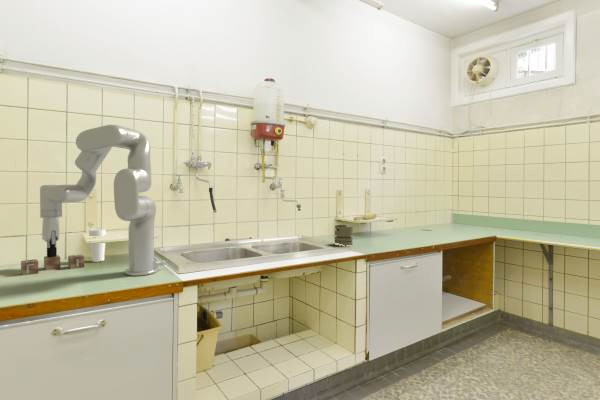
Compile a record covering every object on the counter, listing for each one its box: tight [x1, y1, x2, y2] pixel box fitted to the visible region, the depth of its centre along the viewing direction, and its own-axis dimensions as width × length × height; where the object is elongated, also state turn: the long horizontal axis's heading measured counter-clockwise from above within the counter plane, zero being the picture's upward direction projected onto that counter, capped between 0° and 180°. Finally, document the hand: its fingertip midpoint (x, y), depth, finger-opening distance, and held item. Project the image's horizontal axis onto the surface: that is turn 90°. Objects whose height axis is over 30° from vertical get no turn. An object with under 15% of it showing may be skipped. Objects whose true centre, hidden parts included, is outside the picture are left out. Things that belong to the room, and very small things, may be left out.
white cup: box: [88, 228, 107, 263], centre depth 162 cm, size 7×7×15 cm
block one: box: [67, 254, 85, 270], centre depth 150 cm, size 5×5×5 cm
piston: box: [333, 224, 354, 246], centre depth 216 cm, size 11×12×11 cm
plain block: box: [43, 254, 61, 271], centre depth 147 cm, size 5×5×5 cm
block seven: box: [20, 259, 39, 276], centre depth 139 cm, size 5×5×5 cm
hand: (51, 256), depth 147 cm, fingers closed
